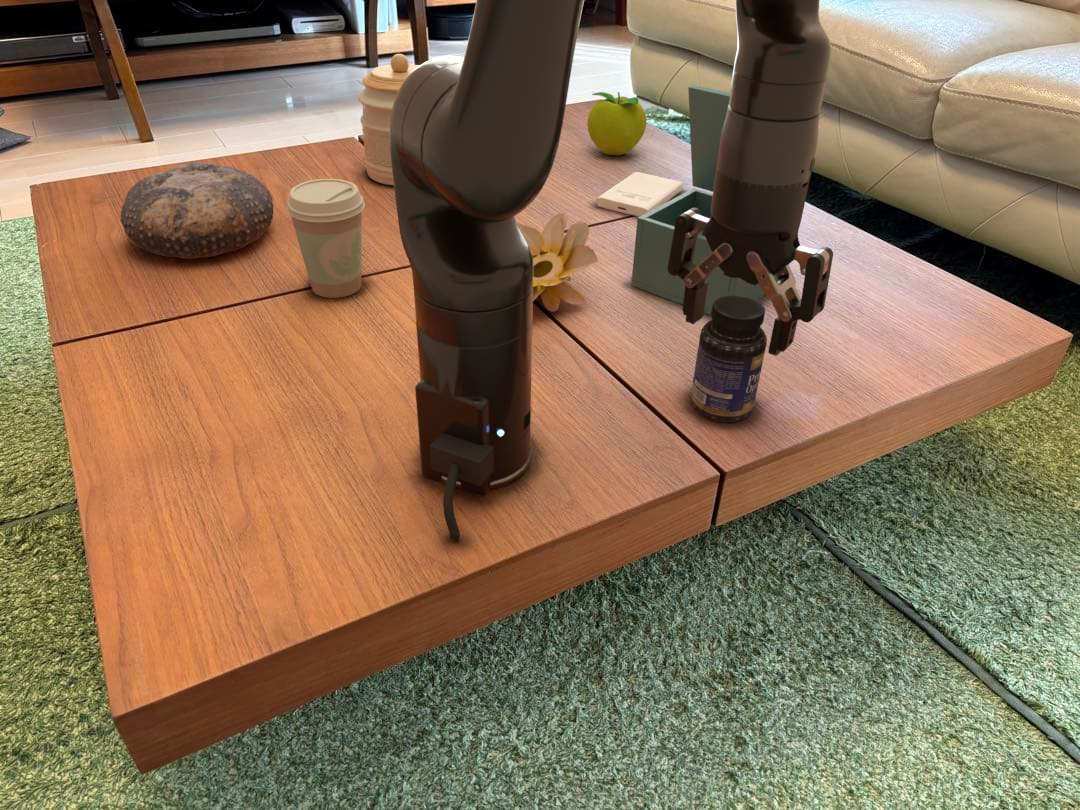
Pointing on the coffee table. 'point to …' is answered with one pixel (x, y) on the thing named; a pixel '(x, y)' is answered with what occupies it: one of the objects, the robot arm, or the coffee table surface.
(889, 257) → the coffee table surface
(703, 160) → the lid
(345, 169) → the coffee table surface
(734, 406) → the pill bottle
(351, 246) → the coffee cup
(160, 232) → the sea urchin shell
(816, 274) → the robot arm
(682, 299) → the chest
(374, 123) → the jar
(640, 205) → the hard drive
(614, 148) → the fruit
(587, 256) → the decorative flower
